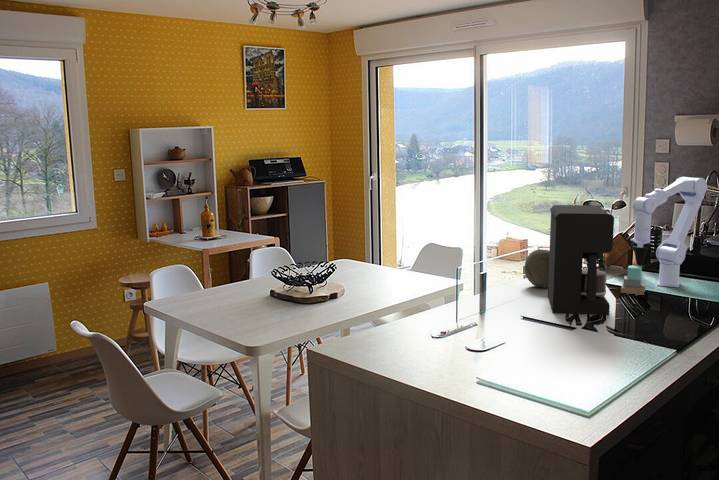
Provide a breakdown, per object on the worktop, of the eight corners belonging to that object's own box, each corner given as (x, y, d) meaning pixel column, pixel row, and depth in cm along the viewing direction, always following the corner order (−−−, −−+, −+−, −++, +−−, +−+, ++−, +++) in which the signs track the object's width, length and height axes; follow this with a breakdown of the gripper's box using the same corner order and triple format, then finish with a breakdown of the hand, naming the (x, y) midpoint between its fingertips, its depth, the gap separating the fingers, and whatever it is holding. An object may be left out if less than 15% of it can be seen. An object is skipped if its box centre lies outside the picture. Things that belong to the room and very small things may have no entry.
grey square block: (623, 283, 266) (624, 275, 265) (640, 284, 263) (640, 277, 263) (623, 286, 260) (623, 279, 260) (640, 288, 258) (640, 280, 257)
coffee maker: (613, 319, 227) (619, 214, 221) (552, 316, 230) (556, 213, 225) (601, 298, 254) (605, 204, 248) (547, 296, 258) (550, 204, 252)
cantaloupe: (562, 291, 264) (564, 253, 262) (525, 290, 266) (526, 252, 264) (558, 283, 278) (559, 246, 275) (522, 282, 280) (523, 246, 278)
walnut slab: (622, 290, 267) (623, 282, 266) (645, 292, 263) (645, 284, 263) (620, 295, 260) (621, 287, 259) (643, 297, 256) (643, 289, 256)
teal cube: (628, 276, 264) (629, 265, 263) (641, 277, 261) (641, 266, 261) (627, 279, 260) (627, 267, 259) (639, 280, 257) (640, 268, 257)
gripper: (633, 225, 271) (631, 258, 273) (629, 230, 258) (627, 265, 261) (652, 226, 268) (650, 260, 270) (649, 231, 255) (647, 267, 257)
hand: (640, 262), depth 265 cm, fingers open, 7 cm apart
